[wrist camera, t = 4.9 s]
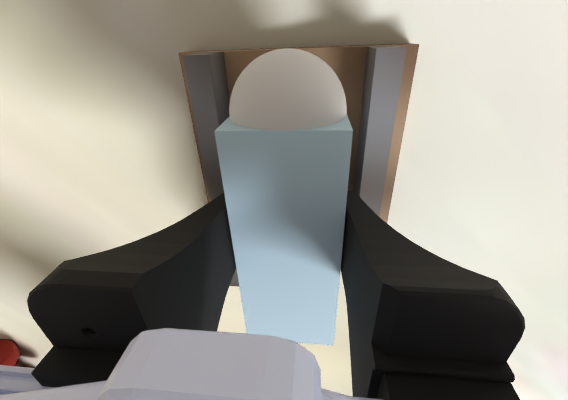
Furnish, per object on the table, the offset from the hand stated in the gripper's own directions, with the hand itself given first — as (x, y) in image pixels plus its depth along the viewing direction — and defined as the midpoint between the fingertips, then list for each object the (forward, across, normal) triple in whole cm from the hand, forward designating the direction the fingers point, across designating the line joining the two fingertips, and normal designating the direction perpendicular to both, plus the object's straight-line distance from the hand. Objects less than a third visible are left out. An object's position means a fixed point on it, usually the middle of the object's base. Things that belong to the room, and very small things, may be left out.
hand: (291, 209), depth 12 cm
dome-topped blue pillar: (+2, 0, 0) cm, 2 cm away
